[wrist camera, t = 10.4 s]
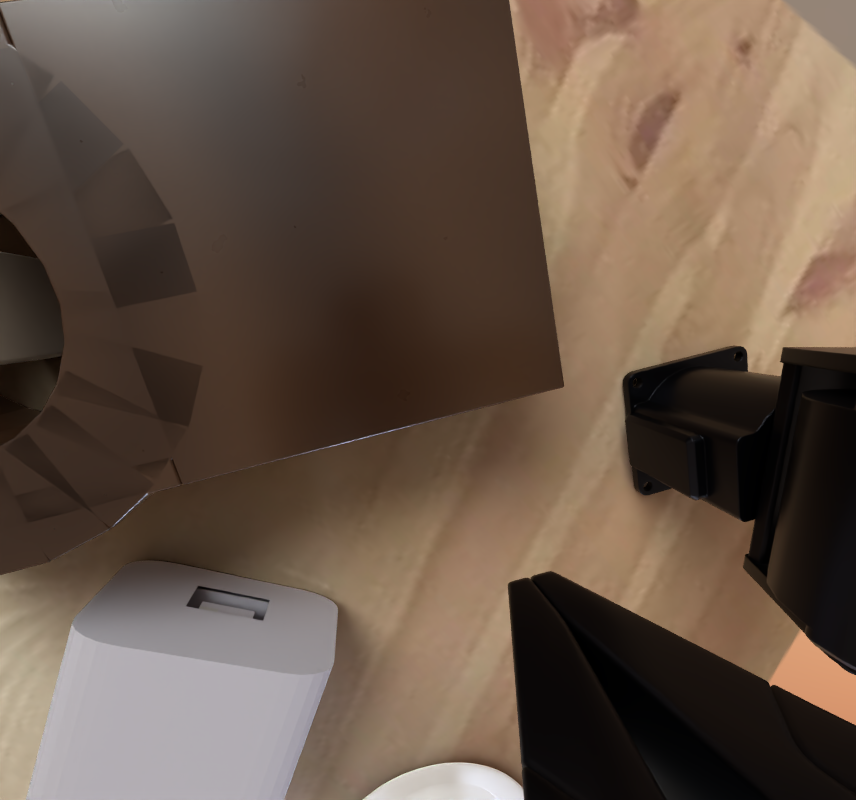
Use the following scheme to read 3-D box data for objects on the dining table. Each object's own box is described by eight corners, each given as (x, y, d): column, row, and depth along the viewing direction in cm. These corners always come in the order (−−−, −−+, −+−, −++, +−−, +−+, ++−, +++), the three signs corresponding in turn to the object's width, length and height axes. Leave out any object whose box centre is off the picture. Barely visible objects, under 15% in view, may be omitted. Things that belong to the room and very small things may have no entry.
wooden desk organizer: (444, 38, 16) (492, -121, 10) (506, 391, 19) (570, 422, 13) (-270, 145, 13) (-759, 11, 7) (-57, 534, 17) (-283, 651, 11)
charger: (59, 825, 20) (134, 553, 18) (252, 839, 22) (339, 596, 20) (-32, 977, 15) (57, 634, 13) (223, 978, 17) (333, 679, 15)
